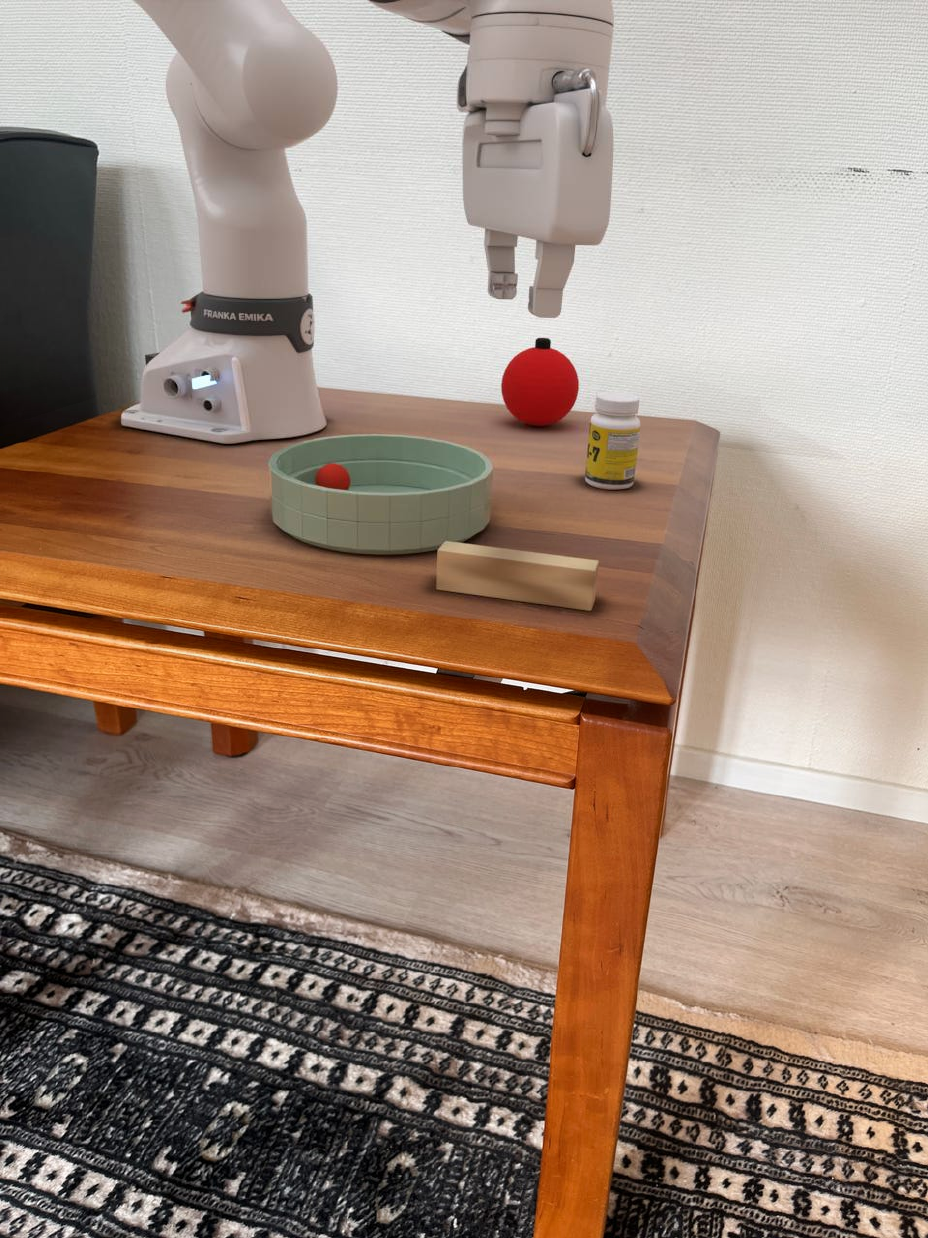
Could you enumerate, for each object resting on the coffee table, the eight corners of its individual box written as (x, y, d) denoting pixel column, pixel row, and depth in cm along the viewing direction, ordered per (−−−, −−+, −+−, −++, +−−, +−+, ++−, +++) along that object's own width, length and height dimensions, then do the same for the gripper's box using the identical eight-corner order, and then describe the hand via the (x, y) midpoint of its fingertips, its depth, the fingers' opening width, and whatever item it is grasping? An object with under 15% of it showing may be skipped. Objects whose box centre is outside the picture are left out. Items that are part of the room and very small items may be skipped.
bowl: (232, 540, 77) (229, 478, 75) (321, 478, 93) (320, 426, 91) (458, 570, 73) (460, 506, 71) (509, 500, 89) (513, 446, 87)
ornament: (583, 434, 113) (591, 345, 109) (506, 434, 112) (511, 343, 107) (565, 416, 121) (572, 332, 117) (493, 415, 120) (497, 331, 115)
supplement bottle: (580, 475, 97) (587, 390, 94) (626, 476, 98) (636, 391, 94) (589, 490, 93) (598, 401, 89) (638, 491, 93) (649, 402, 90)
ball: (335, 451, 84) (361, 476, 85) (327, 462, 87) (352, 486, 87) (312, 475, 83) (339, 500, 84) (305, 485, 86) (330, 509, 86)
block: (595, 600, 69) (599, 560, 68) (590, 611, 67) (595, 570, 66) (443, 579, 71) (445, 540, 70) (436, 589, 70) (437, 549, 68)
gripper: (653, 68, 54) (623, 330, 59) (534, 91, 72) (520, 290, 77) (544, 58, 52) (524, 328, 58) (450, 84, 70) (442, 288, 76)
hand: (521, 306), depth 68 cm, fingers open, 8 cm apart
